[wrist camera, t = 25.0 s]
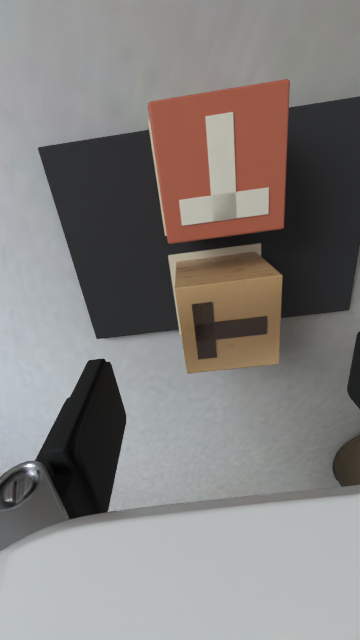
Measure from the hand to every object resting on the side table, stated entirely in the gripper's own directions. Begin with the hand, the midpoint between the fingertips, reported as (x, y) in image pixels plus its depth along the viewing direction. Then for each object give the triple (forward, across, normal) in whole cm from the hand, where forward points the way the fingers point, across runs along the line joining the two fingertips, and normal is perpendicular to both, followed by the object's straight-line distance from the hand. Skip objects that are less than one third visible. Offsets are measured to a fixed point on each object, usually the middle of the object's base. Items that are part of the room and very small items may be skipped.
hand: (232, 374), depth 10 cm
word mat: (+9, -1, -4) cm, 10 cm away
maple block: (+9, -1, 0) cm, 9 cm away
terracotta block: (+9, -1, -7) cm, 11 cm away
